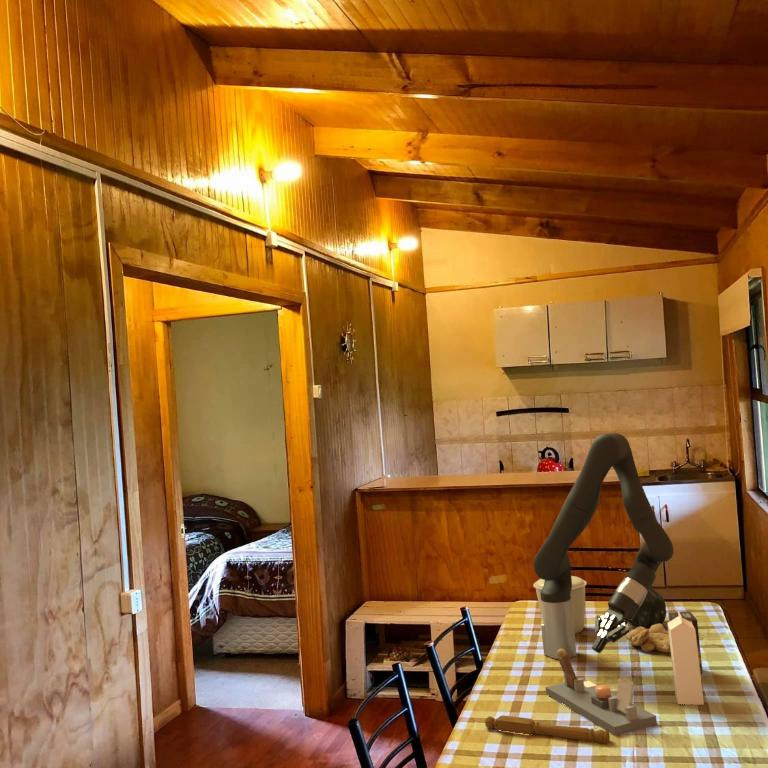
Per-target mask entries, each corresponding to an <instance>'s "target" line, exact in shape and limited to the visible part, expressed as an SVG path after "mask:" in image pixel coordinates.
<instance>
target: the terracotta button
mask: <svg viewBox="0 0 768 768" xmlns="http://www.w3.org/2000/svg"><path fill="white" fill-rule="evenodd" d="M596 685H597V684H596ZM595 690H596V696H597V697H599V698H609V697H610V696H611V693H612V692H611V686H610V685H607V684H598V685H597V686H596V687H595Z"/></svg>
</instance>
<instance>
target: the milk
mask: <svg viewBox="0 0 768 768" xmlns="http://www.w3.org/2000/svg"><path fill="white" fill-rule="evenodd" d="M677 612H678V617H676V618H675V619H673V620H672V621H670V622H669V621H668V622H667V631H668V632H669V641H670V650H671V652H670V659H671V666H672V667H671V668H672V676H673V677H672V678H673V685H674V694H675V695H674V696H675V697H676V701H677V704H678V705H679V704H681V705H682V704H683V706H684V704H685V706H687V705H688V706H690V705H691V704H692V705H691V706H696V705H697V706H703V705H704V695H703V685H702V679H701V675H700V666H699V658H698V649H697V640H696V631H695V628H694V626H693V624H692V623H691V622H690V621H688V620H686V619H684V618H682V616H681V615H680V613H679V612H680V611H679V610H677ZM681 705H680V706H681Z"/></svg>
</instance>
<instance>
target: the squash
mask: <svg viewBox="0 0 768 768" xmlns="http://www.w3.org/2000/svg"><path fill="white" fill-rule="evenodd" d="M666 617H667V605H666V600H665V599H664V597H663V596H662V595H661V593H659V592H658V591H657V590H655V588H652V587H650V589H649V591H648V592H647V594H646V597H645V599H644V601H643V603H642V604H641V606H640V608H639V609H638V611H637V613H636V614H635V616H634V618H633V619H632V620H628V623H629V624H631V625H634V626H639V627H644V628H646V629H647V628H649V629H650V628H651V626H652V625H655V624H659V623H660V624H662V625H663V624H664V622H665V620H666Z"/></svg>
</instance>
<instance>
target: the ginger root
mask: <svg viewBox="0 0 768 768" xmlns="http://www.w3.org/2000/svg"><path fill="white" fill-rule="evenodd" d="M624 638H626V639H627V640H628V641H630V645H631V646H634V647H640V648H641V650H642V651H644V652H646V653H647V652H648V653H649V652H653V651H658V652H661V653H671V650H670V641H669V632H668V630H666V629H665V627H664V625H663V623H662V624H660V623H659V624H655V625H652V626H651V628H650V627H649V628H647V627H646V628H644V627H641V626H637V627H635V628H633V630H631V631H630V632H629V633H628V634H626V635H624Z"/></svg>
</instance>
